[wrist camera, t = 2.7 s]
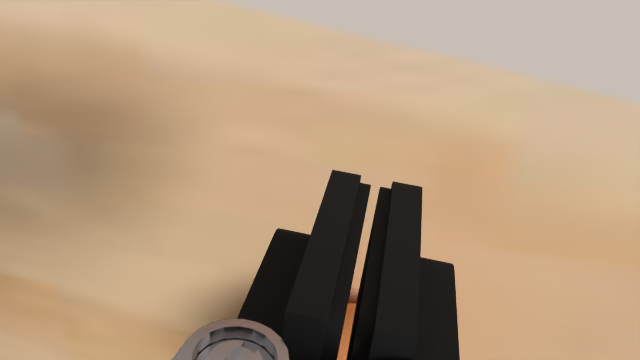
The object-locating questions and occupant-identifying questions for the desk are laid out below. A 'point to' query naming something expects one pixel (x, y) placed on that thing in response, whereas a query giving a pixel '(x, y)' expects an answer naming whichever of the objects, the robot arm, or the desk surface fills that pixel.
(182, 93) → the desk surface
